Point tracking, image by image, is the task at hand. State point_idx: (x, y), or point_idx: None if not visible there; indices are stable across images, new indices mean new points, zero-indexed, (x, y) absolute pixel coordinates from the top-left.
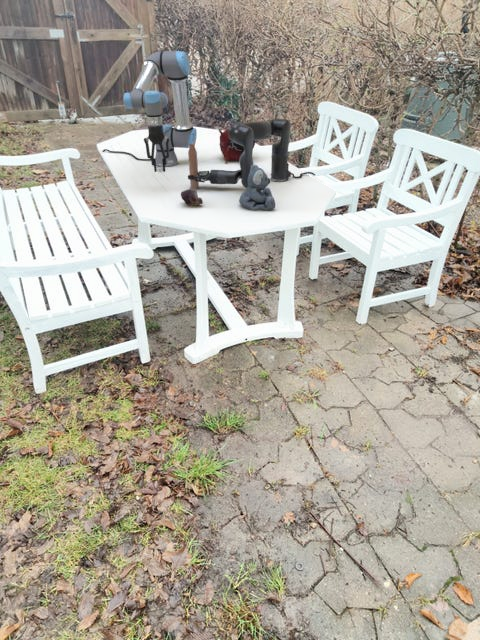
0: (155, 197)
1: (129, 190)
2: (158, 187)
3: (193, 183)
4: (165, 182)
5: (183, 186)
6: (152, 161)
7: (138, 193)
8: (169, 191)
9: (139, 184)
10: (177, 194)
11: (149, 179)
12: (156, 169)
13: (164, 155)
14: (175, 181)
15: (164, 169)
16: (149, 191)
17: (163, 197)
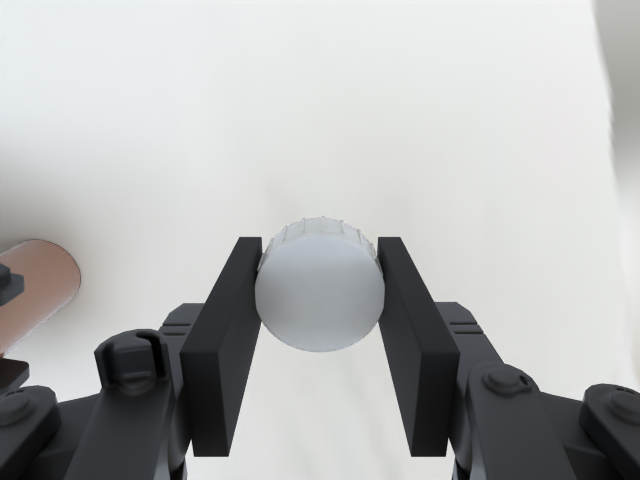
0: (369, 24)
1: (612, 244)
2: None
3: (6, 260)
4: (316, 409)
5: (153, 315)
6: (469, 348)
7: (536, 158)
8: (253, 197)
9: None
10: (162, 106)
11: (444, 472)
12: (371, 253)
13: (94, 442)
14: (241, 425)
15: (234, 250)
16: (435, 207)
17: (288, 19)
